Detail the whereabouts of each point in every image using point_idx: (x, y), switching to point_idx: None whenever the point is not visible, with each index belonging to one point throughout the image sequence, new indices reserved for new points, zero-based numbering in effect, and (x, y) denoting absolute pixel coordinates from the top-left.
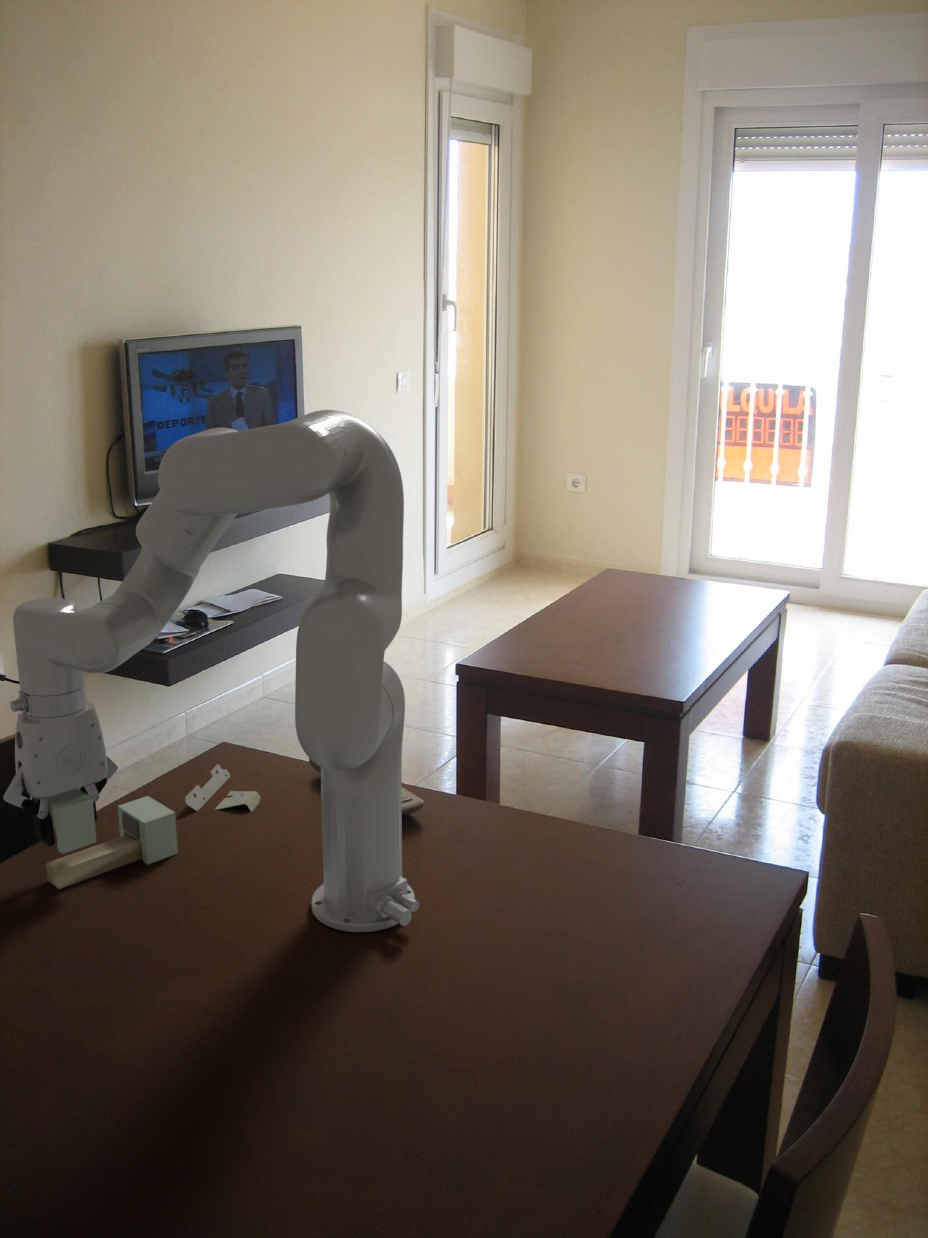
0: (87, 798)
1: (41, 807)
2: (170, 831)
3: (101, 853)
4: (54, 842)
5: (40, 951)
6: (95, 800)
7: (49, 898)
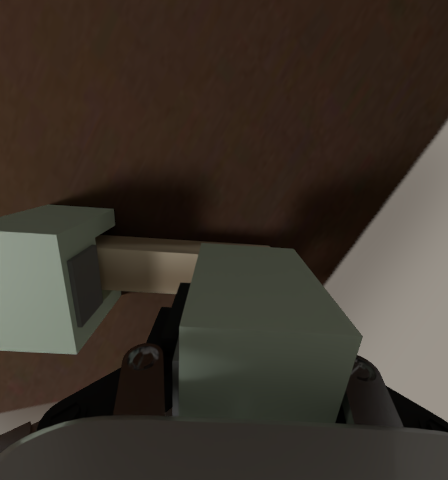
0: (197, 342)
1: (382, 397)
2: (19, 216)
3: (178, 260)
4: None
5: (424, 70)
6: (144, 348)
7: (295, 231)
